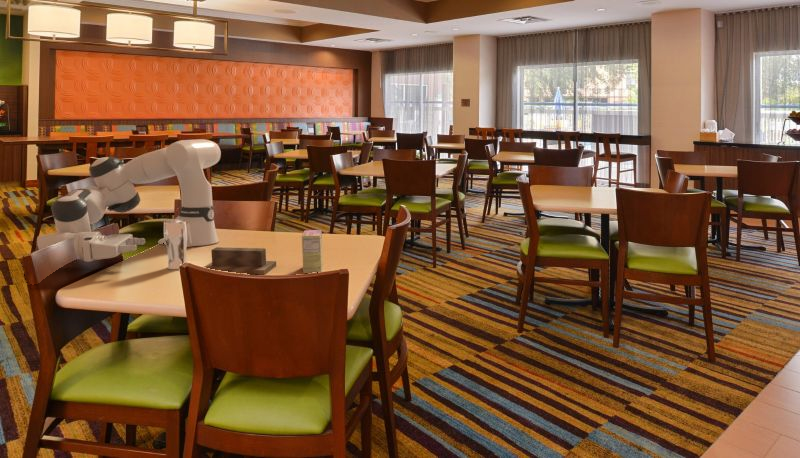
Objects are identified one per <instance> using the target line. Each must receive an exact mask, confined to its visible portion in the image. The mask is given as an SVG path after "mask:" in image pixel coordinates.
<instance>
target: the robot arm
mask: <svg viewBox="0 0 800 458" xmlns="http://www.w3.org/2000/svg"><path fill="white" fill-rule="evenodd" d="M221 153H222V151H221V149H220V146H219V145H218V144H217V143H216V142H214V141H212V140H208V139H205V138H202V139H201V138H200V139H180V140H177V141H175V142H172V143H171V144H169V145H168V146H166V147H163V148H160V149H156V150H153V151H150V152H146V153H143V154H141V155H139V156H137V157H134V158H133V159H131V160H128V161H127V162H126V163H124V160H123V159H121V158H120V159H118V158H117V157H113V156H106V157H100V158H98V159H96V160H95V161H93V162H92V164H90V166H89V168H88V171H89V174H90V176H91V178H93V181H94V183H95V184H96V186H94V185H88V186H86V187H83V188H77V189H73V190H72V191H70V192H68V193H66V195H64V196H61V197H58V198H57V199H55V200H54V202H53V203H52V204H51V206H50V210H51V212H52V216H53V219H54V225H55V229H56V232H52V233H44V234H43V233H42V234H40V235H38V236H37V238H36V242H35V244H36V252H37V251H38V250H41V249H43V248H46V247H47V246H50V245H52V244H56V243H58V242H61V241H63V240H65V239H68V238H75V237H76V238H75V240H74V248H75V252H76V255H77V256H78V257H79V258H80V259H81V260H80V261H84V262H86V263H89V262H93V261H99V260H100V261H101V260H104V259H113V258H115V257H119V255H120V254H122V253H127V252H128V253H129V252H135V251H137V250H138V246H139V245H142V246H144V245H145V244H146V239H145V238H143V237H141V238H139V237H134V236H133V233H132V234H131V233H119V234H110V235H105V234H102V233H101V232H100V231H92V227H91V225H93V224H96V223H97V222H99V221H100V220H101V219H102V218H103V217H104V215H105V212H106V210H107V211H110V212H116V213H118V214H119V213H120V214H121V213H122V214H124V213H126V212H127V213H128V212H131V211H132V210H135V208H136V207H137V206H138V205H140V202H141V197H140V194H139V192H138V191H137V189H136V188H135V185H142V184H150V183H154V182H158V181H161V180H164V179H165V180H166V179H168V178H172V177H175V176H176V177H177V181H178V184H179V186H180V187H179V188H180V197H181V206H180V207H177V208H176V211H175V212H177V213H178V215H177V217H175V218H174V220H186V226H187V248H189V247H199V246H200V247H201V246H209V245H214V244H217V243H219V241H220V240H219V239H220V238H218V237H219V236H218V235H217V230H216V226H215V206H214V205H213V192H212V191H213V189H212V184H211V183H210V181H208V180H207V178H206V175H205V172H204V169H208V168H210V167H212V166H215V165H216V164H218V162H219V161H220V160H221V157H222V156H221V155H222V154H221ZM134 184H135V185H134ZM157 243H158V244H159V245H165V240H164V237H163V238H161V239H159V240H158V241H157ZM163 243H164V244H163Z"/></svg>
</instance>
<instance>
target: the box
mask: <svg viewBox="0 0 800 458" xmlns="http://www.w3.org/2000/svg"><path fill="white" fill-rule="evenodd" d="M322 236H323V234H322V229H320V230H319V229H309V230H304V231H303V233H302V235H301V248H302V249H301V251H302V252H301V253H302V273H303V274H304V273H307V274H313V273H312V272H321V271H323V266H324V265H323V264H324V263H323V237H322ZM321 273H322V272H321Z"/></svg>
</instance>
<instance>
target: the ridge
mask: <svg viewBox="0 0 800 458" xmlns="http://www.w3.org/2000/svg"><path fill="white" fill-rule="evenodd" d="M266 251H267V250H266V248H265V247H264V248H262V247H258V248H257V247H221V246H220V247H219V246H218V247H214V248H213V249H211V262H210V263H208V264H206V265H205V266H203V267H206V268H210V269H215V270H221V271H228V272H236V273H247V274H258V275H257V276H265V275H266V274H268V273H269V272H270V271H271V270H273V269H274V268H276V267H277V260H267V254H266V253H267V252H266Z"/></svg>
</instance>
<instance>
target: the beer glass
mask: <svg viewBox="0 0 800 458" xmlns="http://www.w3.org/2000/svg"><path fill="white" fill-rule="evenodd" d="M163 238H164V240H165V244H164V245H165V248H166V253H167V258H168V261H167V269H168V270H170V271H178V270H179V266H180V264H183V263H187V264H188V262H187V248H188V247H187V226H186V220H175V219H169V220H168V219H167V220H164V221H163ZM179 271H180V270H179Z"/></svg>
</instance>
